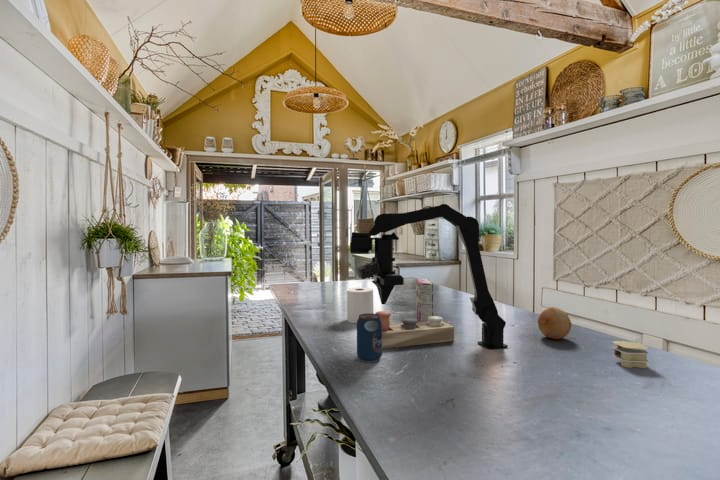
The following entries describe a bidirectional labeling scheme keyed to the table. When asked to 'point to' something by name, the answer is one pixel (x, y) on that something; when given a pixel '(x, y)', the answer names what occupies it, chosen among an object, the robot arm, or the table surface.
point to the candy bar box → (424, 299)
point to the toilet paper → (359, 303)
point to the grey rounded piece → (409, 323)
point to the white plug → (435, 320)
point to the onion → (554, 323)
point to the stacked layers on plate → (631, 354)
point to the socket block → (416, 334)
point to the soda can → (369, 337)
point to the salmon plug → (384, 320)
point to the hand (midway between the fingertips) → (383, 304)
